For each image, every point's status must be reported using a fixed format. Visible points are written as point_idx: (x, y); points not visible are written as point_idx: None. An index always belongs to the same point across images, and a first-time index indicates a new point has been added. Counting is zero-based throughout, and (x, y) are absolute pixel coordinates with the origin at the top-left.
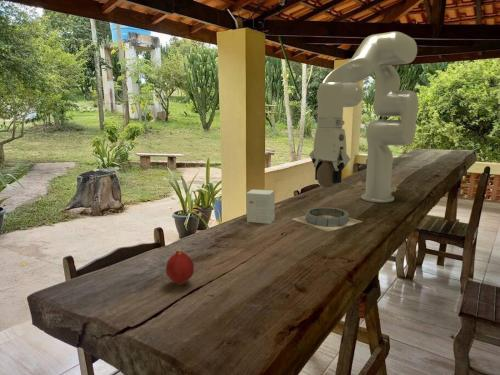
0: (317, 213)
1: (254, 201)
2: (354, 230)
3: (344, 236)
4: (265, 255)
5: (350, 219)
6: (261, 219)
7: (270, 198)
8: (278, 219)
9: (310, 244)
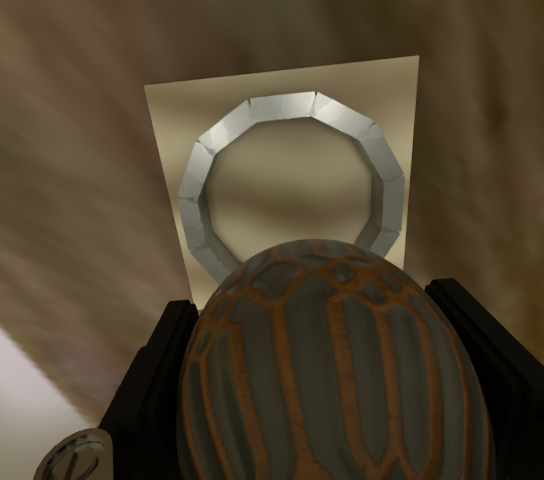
0: (204, 194)
1: None
2: (441, 171)
3: (454, 254)
4: None
5: (350, 88)
6: None
7: None
8: (153, 329)
9: None
